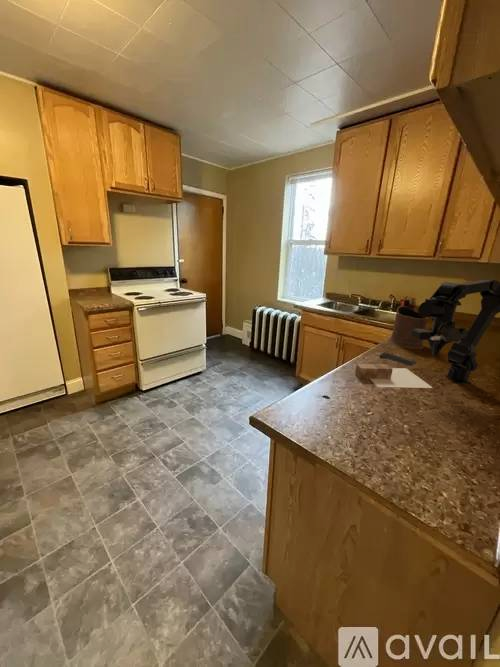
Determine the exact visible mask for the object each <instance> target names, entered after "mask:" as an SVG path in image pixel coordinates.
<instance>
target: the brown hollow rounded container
mask: <svg viewBox="0 0 500 667" xmlns="http://www.w3.org/2000/svg"><path fill="white" fill-rule="evenodd" d="M428 320H429V318H423V317H421V316H420V315H419V313H418V311H416V310H414V309H413V308H410V307H409V306H406V305H401V306H398V307H397V309H396V314H395V318H394V323H393V327H392V328H393V329H392V332H391V336H390V338H388V340H387V342H388V343H390V344H391V345H393V346H397V347H400V348H404V349H412V350H421V349H424V348H425V345H424V340H421V339H418V338H416V337H414V336H412V335H411V334H412V331H413V330H414V329H424V330H427V331H430V330H429V329H430V328H432V327H433V324H432V325H431V326H429V327H427V324H428Z"/></svg>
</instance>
